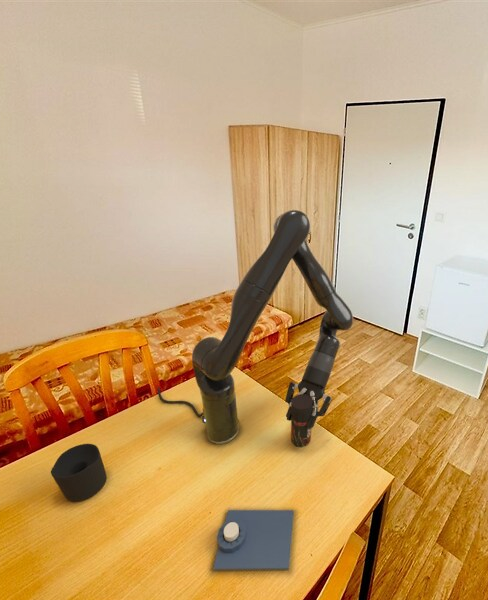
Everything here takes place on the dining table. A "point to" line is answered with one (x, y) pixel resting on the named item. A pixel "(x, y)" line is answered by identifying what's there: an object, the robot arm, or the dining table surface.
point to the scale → (256, 541)
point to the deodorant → (300, 420)
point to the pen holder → (79, 472)
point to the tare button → (231, 531)
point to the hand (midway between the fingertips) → (298, 424)
